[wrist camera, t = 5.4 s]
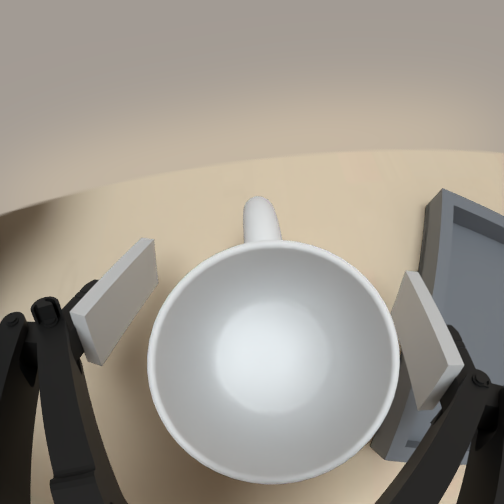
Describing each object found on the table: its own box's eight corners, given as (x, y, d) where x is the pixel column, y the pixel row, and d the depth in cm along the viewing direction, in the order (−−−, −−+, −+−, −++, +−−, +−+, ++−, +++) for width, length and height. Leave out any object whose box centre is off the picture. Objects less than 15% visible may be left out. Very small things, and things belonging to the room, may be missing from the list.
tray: (370, 446, 16) (384, 460, 14) (425, 206, 21) (442, 188, 18) (504, 454, 14) (525, 460, 11) (538, 256, 19) (558, 246, 16)
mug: (202, 244, 21) (151, 161, 12) (322, 234, 21) (359, 142, 11) (212, 422, 18) (158, 482, 8) (341, 411, 17) (403, 462, 8)
